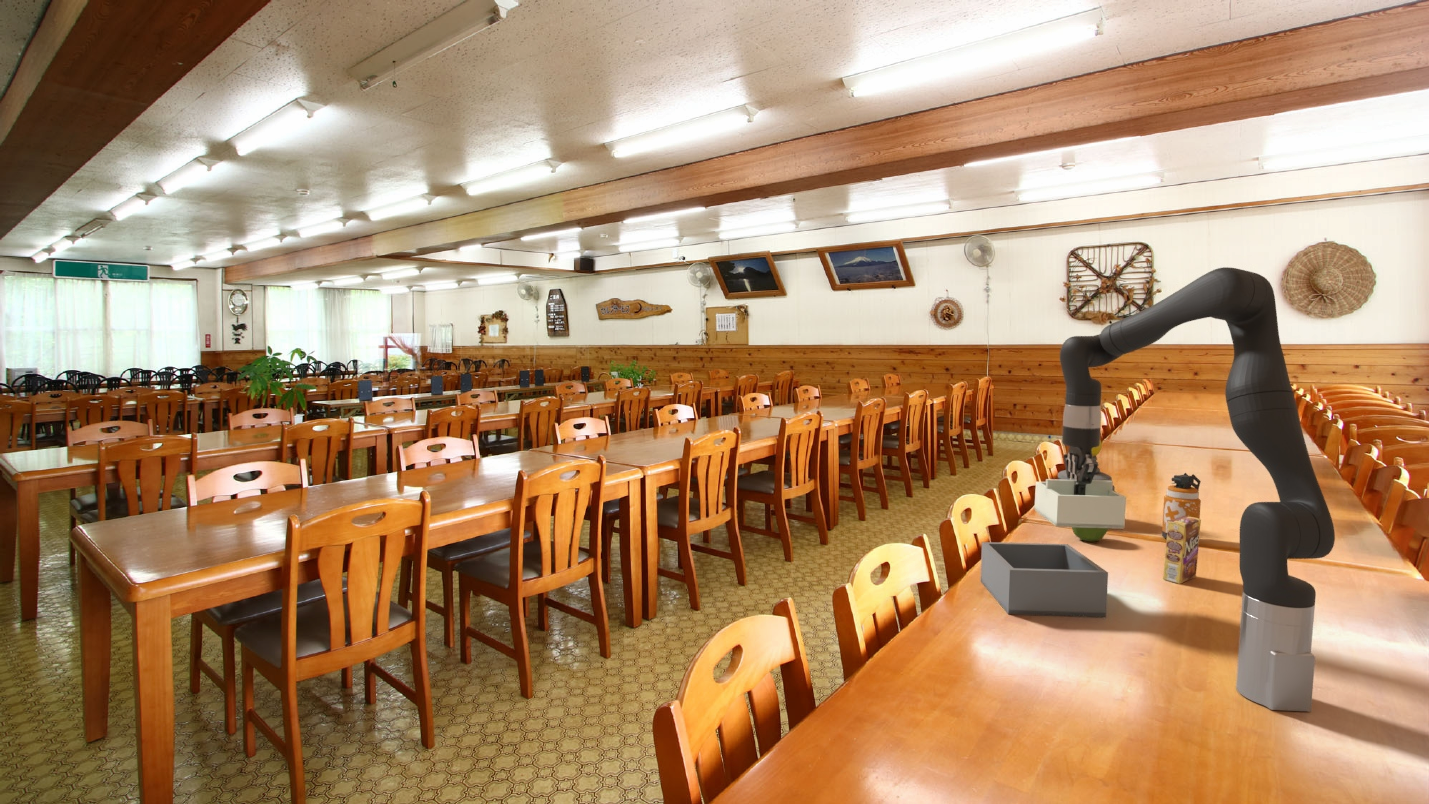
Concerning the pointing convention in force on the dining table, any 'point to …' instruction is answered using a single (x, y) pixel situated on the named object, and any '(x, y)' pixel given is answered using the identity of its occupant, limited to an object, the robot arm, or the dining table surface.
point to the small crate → (1080, 504)
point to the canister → (1181, 500)
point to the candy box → (1181, 549)
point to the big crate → (1043, 579)
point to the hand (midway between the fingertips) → (1077, 499)
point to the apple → (1089, 533)
